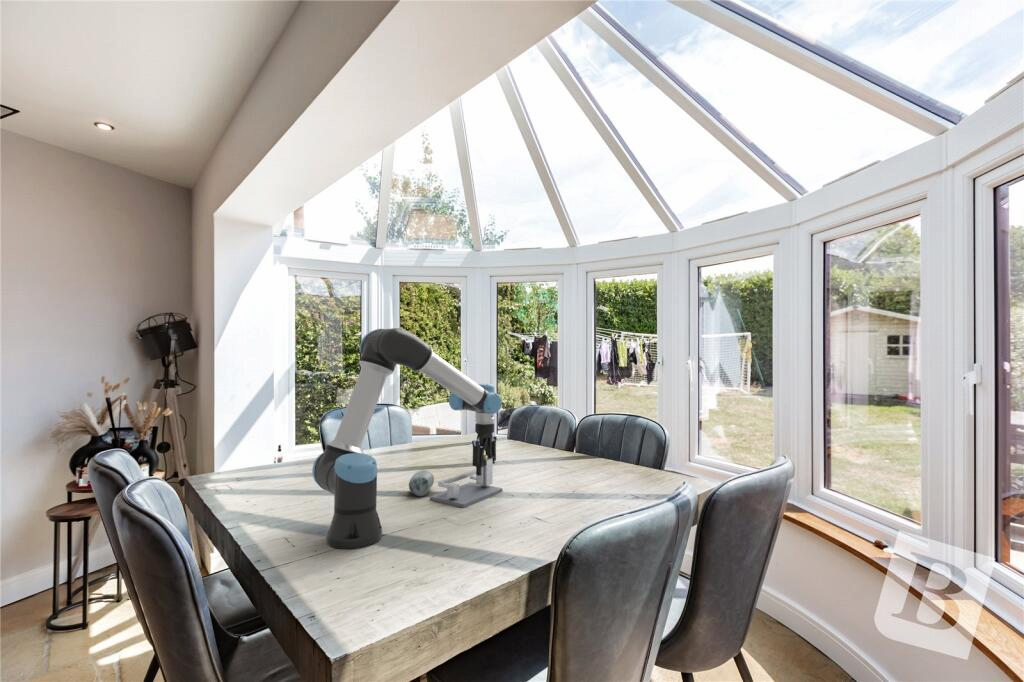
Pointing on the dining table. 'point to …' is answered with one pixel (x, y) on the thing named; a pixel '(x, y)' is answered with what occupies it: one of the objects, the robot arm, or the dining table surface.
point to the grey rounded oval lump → (421, 482)
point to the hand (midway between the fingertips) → (484, 481)
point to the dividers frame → (454, 488)
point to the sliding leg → (486, 471)
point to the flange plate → (467, 495)
